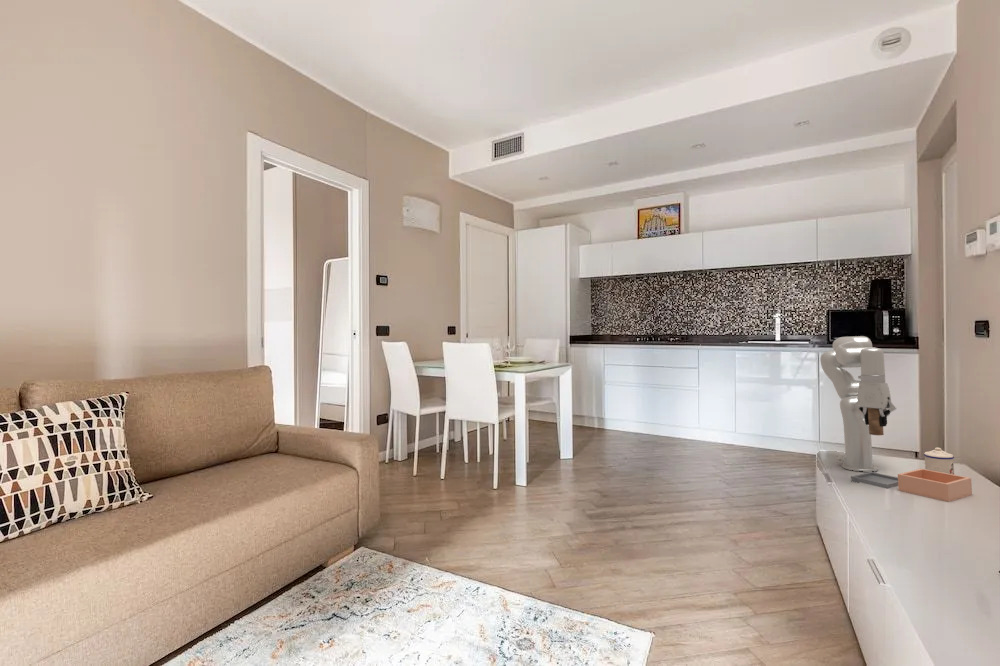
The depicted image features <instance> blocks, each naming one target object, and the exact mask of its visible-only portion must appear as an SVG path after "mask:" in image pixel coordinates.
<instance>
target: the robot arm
mask: <svg viewBox="0 0 1000 666" xmlns="http://www.w3.org/2000/svg"><path fill="white" fill-rule="evenodd" d="M832 349H833V350H828V351H825V352H823V353H822V354H821V355H820V360H819V361H820V365H821V368H822V371H823V373H824V374H825V375H826V376H827V377H828V379H829V380H830V381H831V382H832V385H833V387H834V389H835V392H836V393H837V396H839V398H840V401H839V407H840V411H841V412H840V413H841V416H842V424H843V434H844V436H843V437H844V438H843V439H844V451H845V455H841V454H838V455H837V458H836V460H837V461H840V462H841V461H842V462H843V463H841V467H842V468H843V469H845V470H847V471H848V470H849V471H852V470H853V472H859V471H863V472H864V473H868V472H872V471H874V472H877V471H878V469H879V468H878V467H877V466H876V465H874V463H873V461H874V460H873V445H872V435H871V434H869V422H868V408H875V409H879V411H880V414H881V416H880V417H879V422H880V426H881V427H883V428H884V427H887V424H888V417H889V416H890V415H891V413H892V412H895V411H896V410H897V407H896V406H895V405H894V404H893V402H892V397H891V391H890V387H889V385H888V383H887V382H886V369H885V353H884V350H883V349H882V348H878V347H873V343H872V341H871V338H869V337H868V336H864V335H860V336H859V335H858V336H857V335H855V336H841V337H837V338H836V339H834V341H833V342H832ZM845 368H846V369H847V368H849V369H851V368H860V375H858V376H857V378H858V380H857V379H854V376H853V374H852V373H851V372H849V371H847V370H846V369H845ZM863 472H862V473H863Z"/></svg>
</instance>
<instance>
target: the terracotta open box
mask: <svg viewBox="0 0 1000 666" xmlns="http://www.w3.org/2000/svg"><path fill="white" fill-rule="evenodd" d="M897 477H898V486H897V487H898V489H897V490H898V491H899V492H905V493H908V494H913V495H918V496H922V497H927V498H931V499H934V500H939V501H944V502H947V503H950V502H953V501H955V500H960V499H962V498H966V497H969V496H972V495H973V488H972V486H973V485H972V478H971V477H968V476H962V475H956V474H954V475H953V474H947V473H942V472H937V471H931V470H926V469H925V468H918V469H914V470H909V471H904V472H901V473H898V474H897Z"/></svg>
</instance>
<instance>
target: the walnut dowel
mask: <svg viewBox="0 0 1000 666" xmlns="http://www.w3.org/2000/svg"><path fill="white" fill-rule="evenodd" d="M880 416H881V414H880V411H879V409H875V408H868V422H869V425H868V426H869V434H871V436H884V426H883V427H881V426H880V422H879V417H880Z"/></svg>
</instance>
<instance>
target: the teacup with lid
mask: <svg viewBox="0 0 1000 666" xmlns="http://www.w3.org/2000/svg"><path fill="white" fill-rule="evenodd" d="M923 456H924V469H926V470H931V471H937V472H942V473H947V474H953V475H955V466H954V464H955V463H954V459H955V457H954V455H953V454H952V453H948V452H947V451H945V450H942V448H941V447H935V448H934V449H932V450H930V451H925V452H924V453H923Z"/></svg>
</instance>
